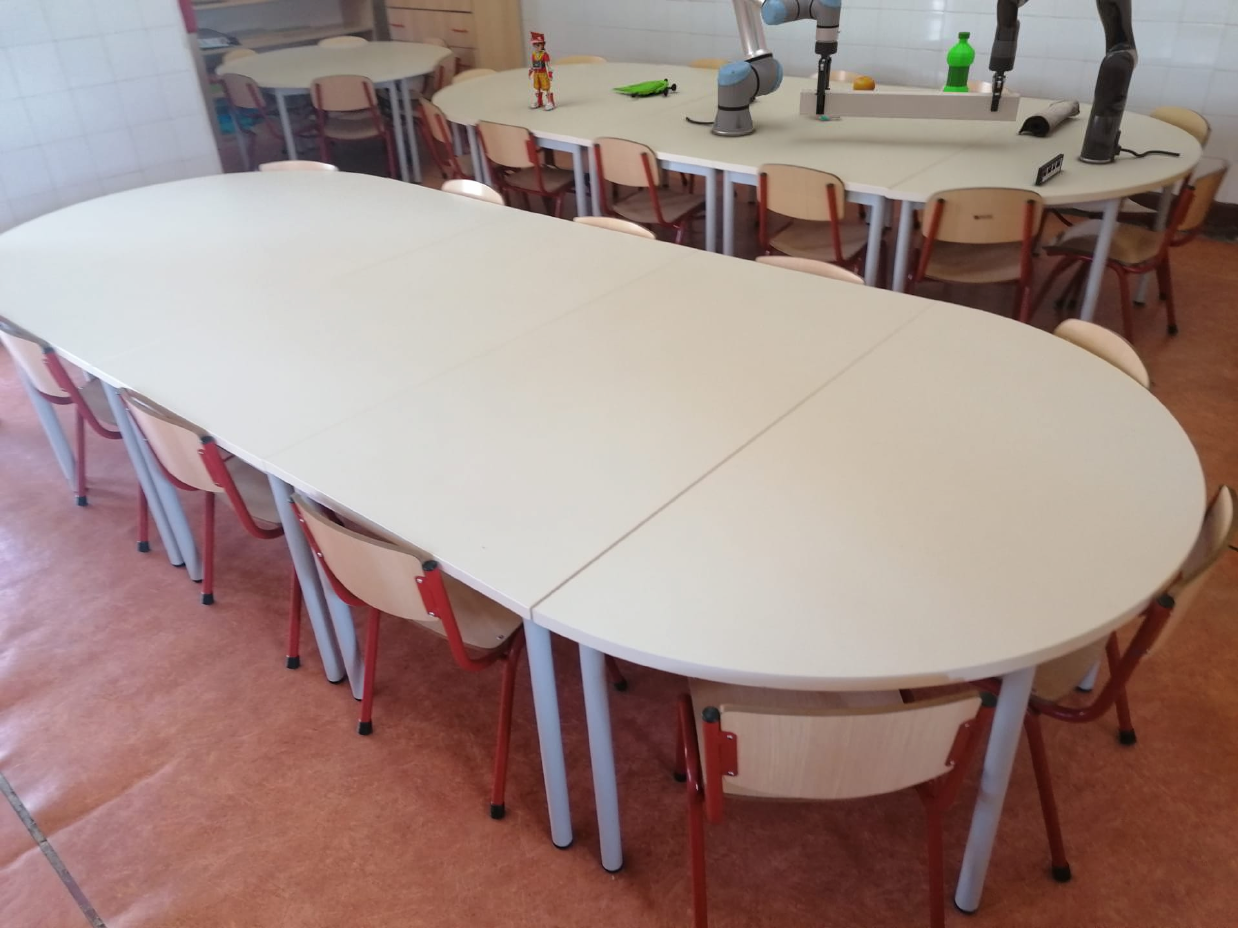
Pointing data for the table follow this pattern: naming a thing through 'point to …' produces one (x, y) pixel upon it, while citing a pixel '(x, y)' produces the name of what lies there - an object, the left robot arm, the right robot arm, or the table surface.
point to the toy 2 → (648, 88)
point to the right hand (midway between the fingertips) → (993, 109)
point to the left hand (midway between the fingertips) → (821, 112)
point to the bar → (911, 105)
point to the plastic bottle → (959, 64)
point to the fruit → (864, 84)
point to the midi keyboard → (1049, 169)
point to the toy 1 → (541, 71)
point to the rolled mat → (1050, 117)
